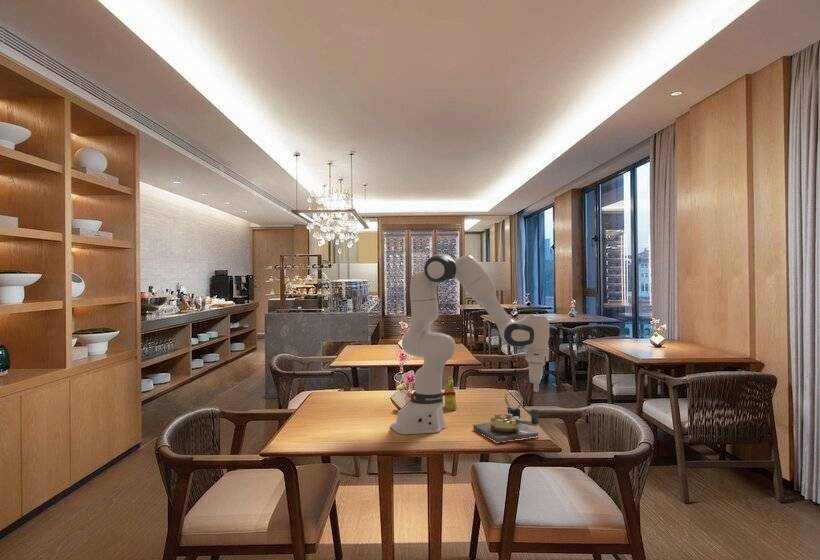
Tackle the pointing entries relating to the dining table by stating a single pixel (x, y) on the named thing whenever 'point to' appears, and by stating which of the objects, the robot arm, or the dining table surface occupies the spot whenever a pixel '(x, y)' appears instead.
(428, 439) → the dining table surface
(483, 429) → the plate
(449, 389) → the chocolate bunny
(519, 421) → the ball knob lever
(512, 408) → the watch
